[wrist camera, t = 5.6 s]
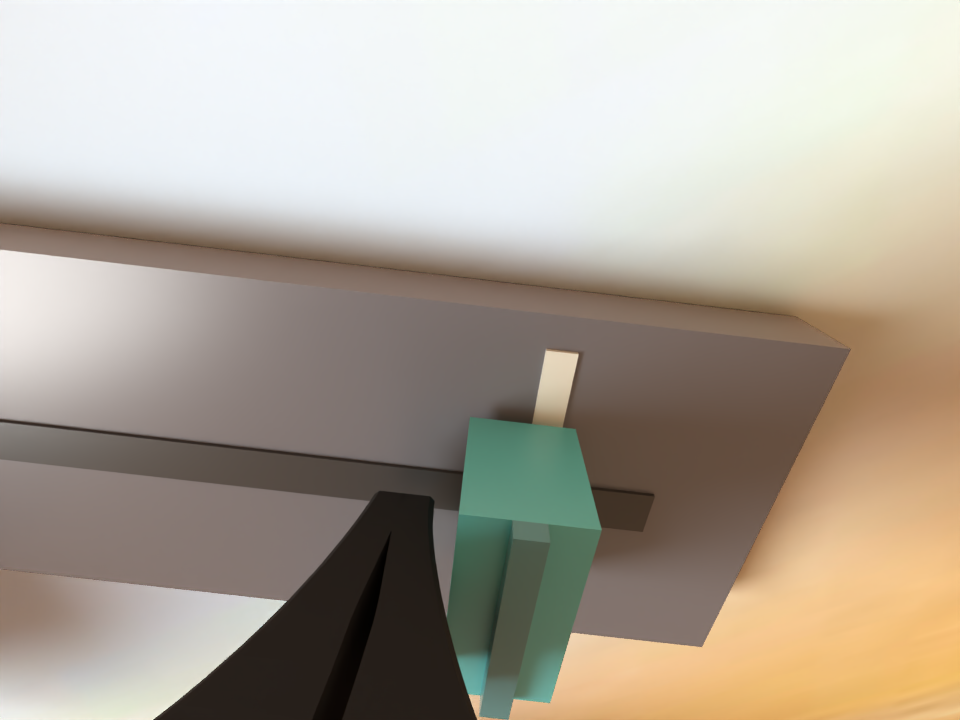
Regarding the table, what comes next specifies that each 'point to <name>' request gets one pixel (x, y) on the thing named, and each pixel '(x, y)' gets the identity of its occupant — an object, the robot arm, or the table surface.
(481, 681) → the fader tab
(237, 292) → the fader console
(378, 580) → the robot arm
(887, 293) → the table surface
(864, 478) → the table surface
